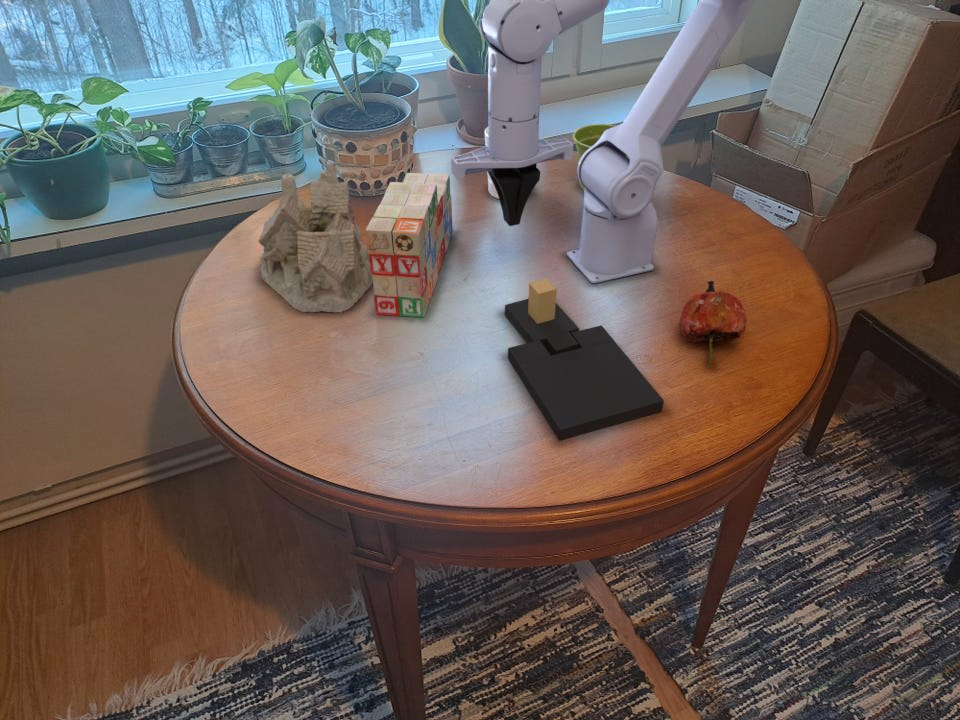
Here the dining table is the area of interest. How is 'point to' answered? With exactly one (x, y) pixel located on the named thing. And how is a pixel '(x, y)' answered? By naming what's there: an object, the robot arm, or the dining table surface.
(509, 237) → the dining table surface
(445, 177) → the stack of blocks
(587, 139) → the plant pot
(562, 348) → the small pad
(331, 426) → the dining table surface
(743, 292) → the dining table surface
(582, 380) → the big pad
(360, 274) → the ceramic cottage
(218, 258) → the dining table surface
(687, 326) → the pomegranate
